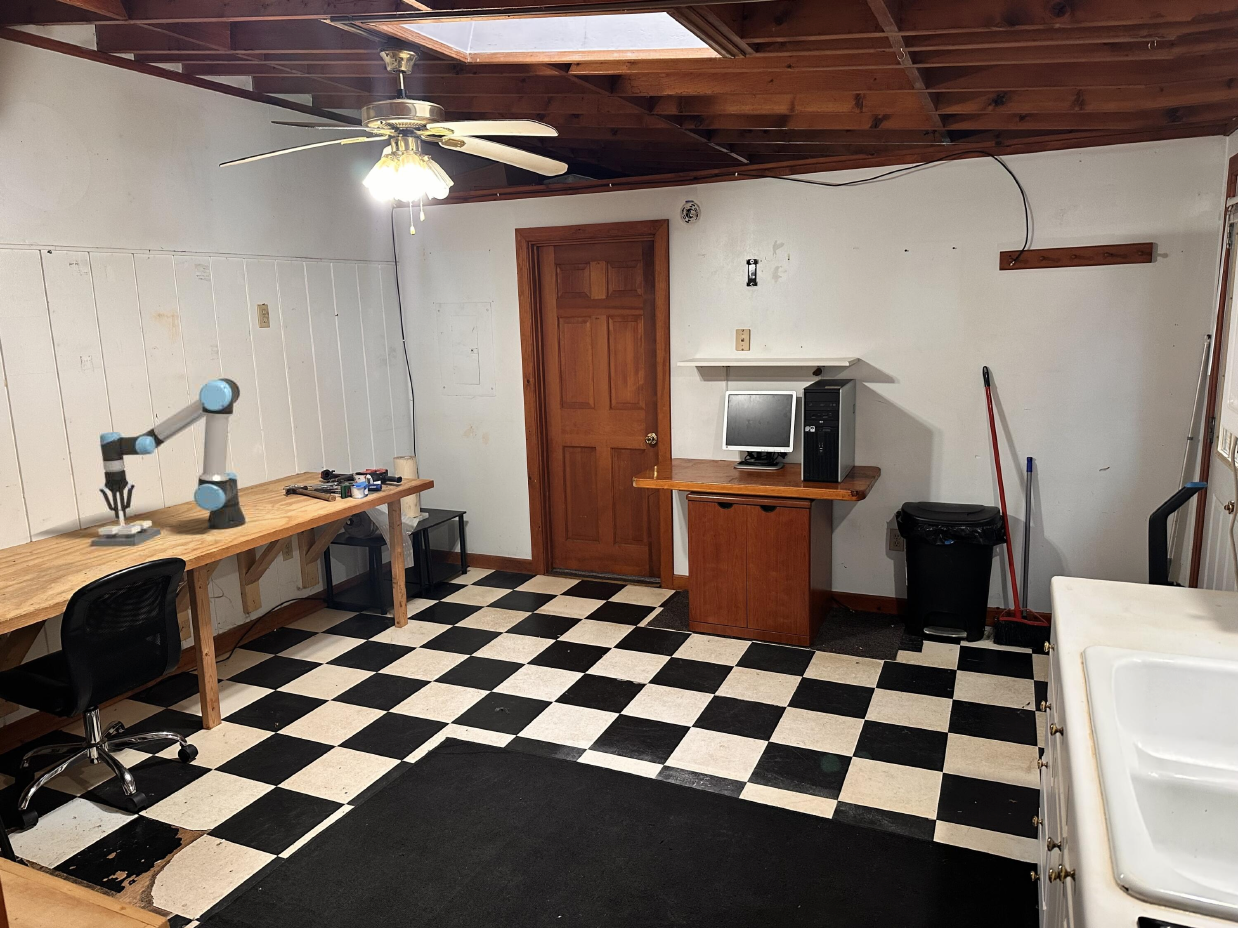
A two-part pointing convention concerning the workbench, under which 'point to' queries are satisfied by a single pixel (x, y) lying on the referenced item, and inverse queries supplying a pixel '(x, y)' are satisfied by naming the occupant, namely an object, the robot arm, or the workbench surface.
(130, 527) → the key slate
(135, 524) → the cream key cap
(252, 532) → the workbench surface
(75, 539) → the workbench surface
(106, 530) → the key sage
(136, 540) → the keypad board
